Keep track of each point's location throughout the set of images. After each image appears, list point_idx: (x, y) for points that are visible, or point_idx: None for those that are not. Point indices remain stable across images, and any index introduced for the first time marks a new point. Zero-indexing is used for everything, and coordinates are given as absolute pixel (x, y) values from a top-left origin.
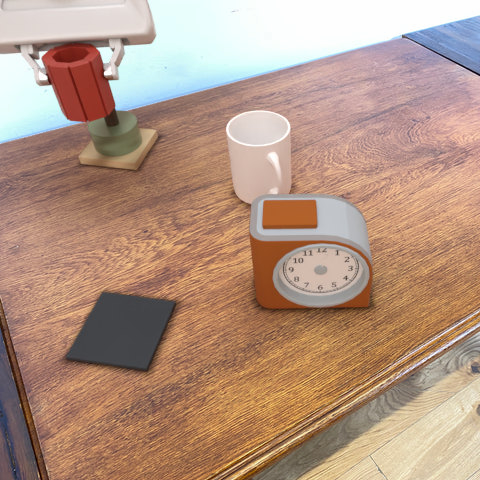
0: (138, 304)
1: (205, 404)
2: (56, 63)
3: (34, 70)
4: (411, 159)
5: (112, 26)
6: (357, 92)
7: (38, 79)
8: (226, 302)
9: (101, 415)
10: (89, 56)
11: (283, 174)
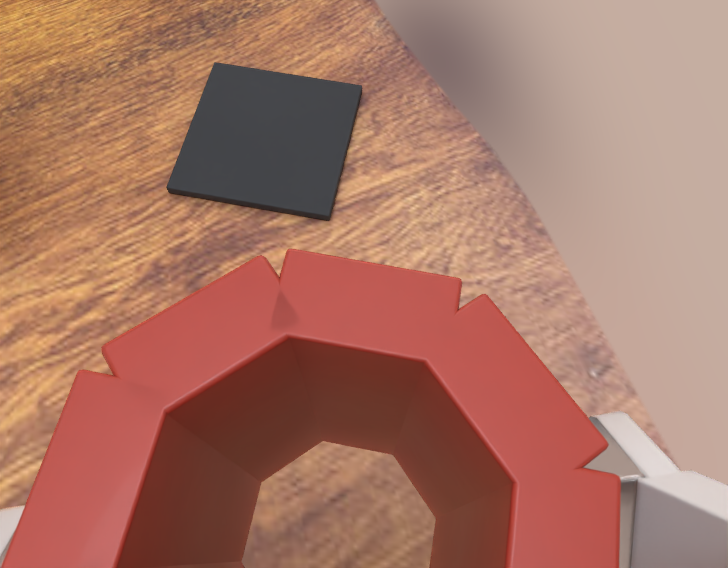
0: (244, 183)
1: (119, 19)
2: (408, 326)
3: (664, 459)
4: None
5: None
6: None
7: (603, 418)
8: (61, 194)
9: (280, 11)
10: (105, 476)
11: None
